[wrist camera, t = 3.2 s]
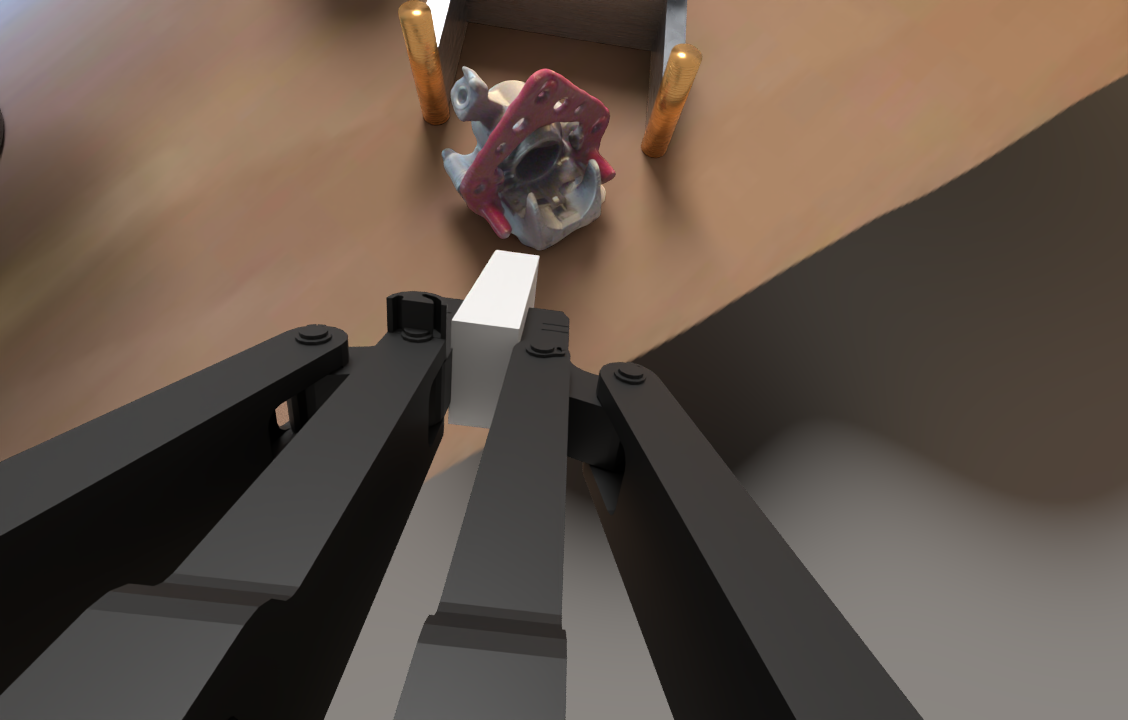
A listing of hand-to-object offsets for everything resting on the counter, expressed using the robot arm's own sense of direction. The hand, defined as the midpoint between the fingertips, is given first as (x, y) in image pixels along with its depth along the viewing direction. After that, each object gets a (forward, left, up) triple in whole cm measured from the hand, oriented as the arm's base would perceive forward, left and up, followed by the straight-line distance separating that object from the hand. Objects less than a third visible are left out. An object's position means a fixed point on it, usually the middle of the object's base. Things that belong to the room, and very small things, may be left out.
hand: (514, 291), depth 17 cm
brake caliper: (-1, +15, -15) cm, 22 cm away
